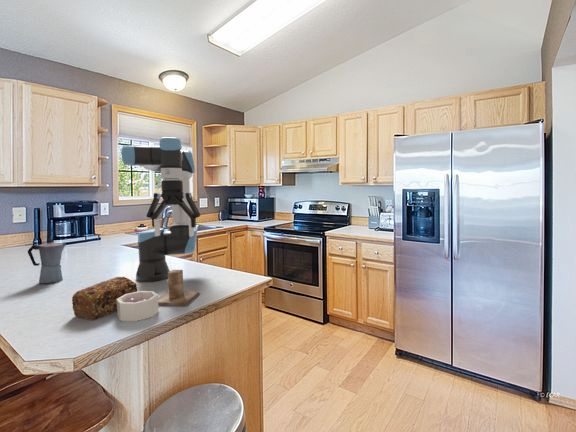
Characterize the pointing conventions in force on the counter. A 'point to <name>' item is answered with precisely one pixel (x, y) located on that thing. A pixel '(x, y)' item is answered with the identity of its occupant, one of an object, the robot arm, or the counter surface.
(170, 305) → the mat
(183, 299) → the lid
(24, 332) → the counter surface
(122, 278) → the bread
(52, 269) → the moka pot
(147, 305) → the bowl
